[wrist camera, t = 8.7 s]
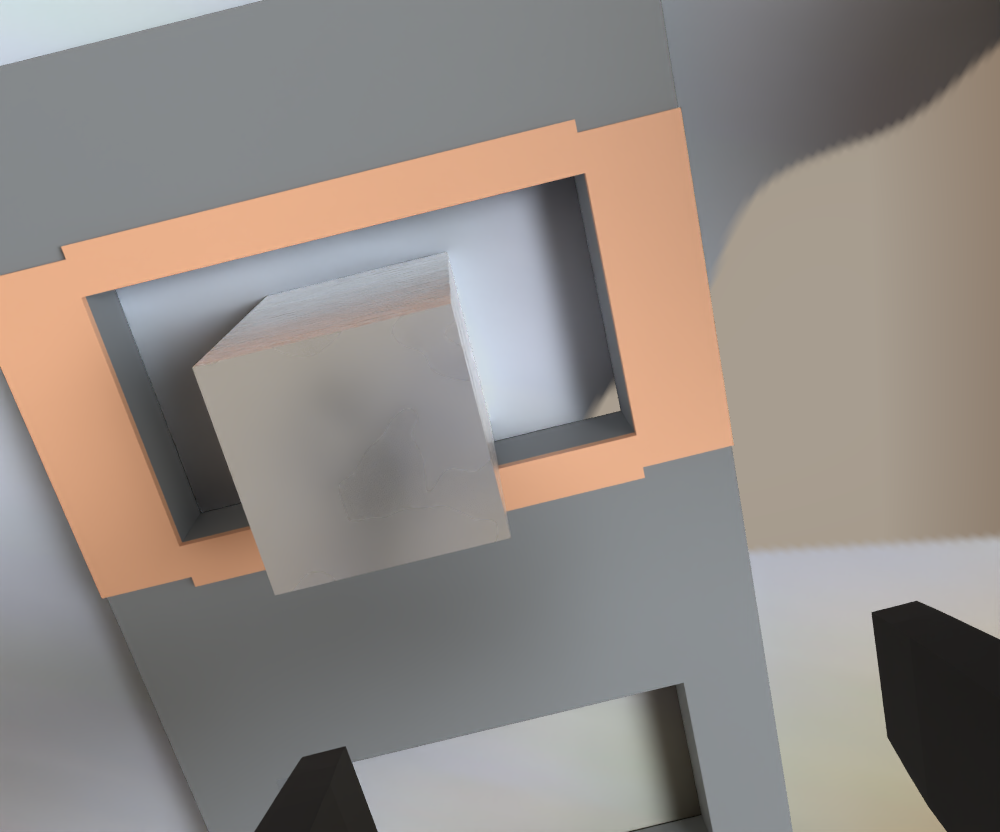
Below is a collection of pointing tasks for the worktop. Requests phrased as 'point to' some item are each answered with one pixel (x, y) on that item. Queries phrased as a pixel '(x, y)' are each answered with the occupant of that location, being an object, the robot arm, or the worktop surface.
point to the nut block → (356, 425)
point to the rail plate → (521, 460)
